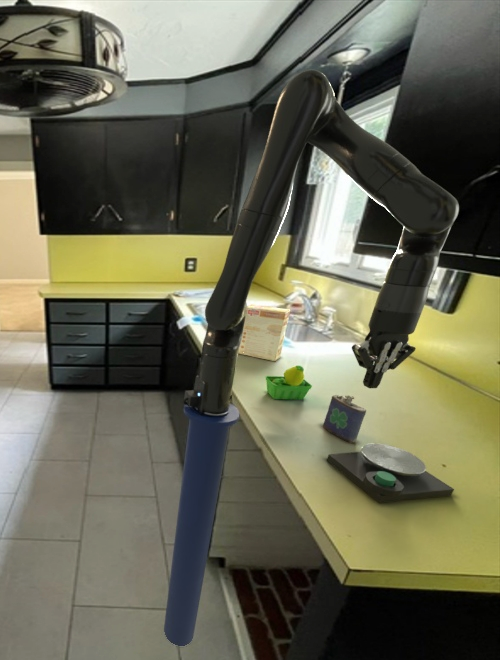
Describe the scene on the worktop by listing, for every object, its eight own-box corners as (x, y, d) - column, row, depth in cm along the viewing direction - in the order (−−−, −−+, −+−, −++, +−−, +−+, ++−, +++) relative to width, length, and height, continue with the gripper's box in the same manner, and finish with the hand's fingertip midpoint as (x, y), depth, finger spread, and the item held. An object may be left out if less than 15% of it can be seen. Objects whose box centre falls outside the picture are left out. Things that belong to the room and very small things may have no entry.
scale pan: (391, 478, 71) (392, 475, 71) (348, 447, 81) (349, 445, 81) (439, 473, 73) (440, 471, 72) (391, 443, 83) (392, 441, 82)
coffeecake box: (280, 357, 146) (291, 309, 139) (275, 361, 141) (285, 312, 134) (243, 349, 155) (251, 304, 148) (237, 353, 150) (245, 306, 143)
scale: (378, 504, 69) (383, 492, 67) (324, 460, 82) (328, 448, 80) (453, 497, 71) (459, 484, 69) (389, 454, 84) (393, 443, 83)
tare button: (383, 488, 69) (386, 481, 68) (370, 478, 72) (372, 471, 71) (397, 486, 69) (400, 480, 69) (383, 476, 72) (386, 470, 72)
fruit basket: (297, 391, 116) (305, 357, 112) (311, 403, 108) (321, 368, 104) (261, 390, 116) (268, 357, 112) (273, 402, 108) (281, 367, 104)
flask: (358, 442, 88) (371, 403, 84) (348, 444, 88) (361, 404, 84) (328, 424, 97) (339, 387, 92) (319, 425, 96) (329, 388, 92)
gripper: (411, 303, 76) (383, 379, 83) (353, 303, 74) (329, 380, 81) (446, 311, 69) (412, 393, 76) (383, 311, 67) (354, 395, 74)
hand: (369, 386), depth 78 cm, fingers closed
